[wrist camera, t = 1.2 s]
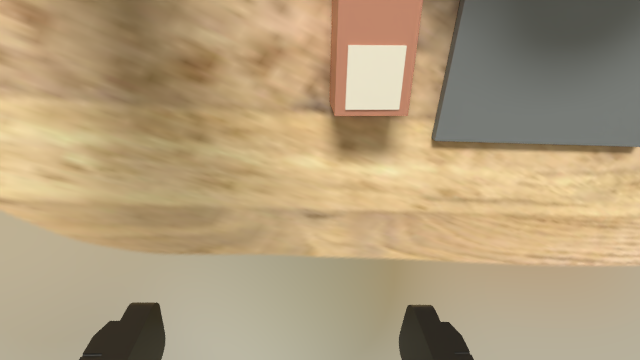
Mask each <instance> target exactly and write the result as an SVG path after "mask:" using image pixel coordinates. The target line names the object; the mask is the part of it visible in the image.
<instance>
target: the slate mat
mask: <svg viewBox="0 0 640 360" xmlns="http://www.w3.org/2000/svg"><path fill="white" fill-rule="evenodd" d="M432 139H433V140H434V141H457V142H492V143H526V144H560V145H595V146H629V147H640V0H460V5H459V9H458V14H457V19H456V24H455V28H454V33H453V38H452V43H451V48H450V52H449V57H448V62H447V67H446V72H445V76H444V81H443V86H442V91H441V96H440V100H439V105H438V110H437V115H436V119H435V124H434V129H433V134H432Z"/></svg>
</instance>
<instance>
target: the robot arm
mask: <svg viewBox="0 0 640 360" xmlns="http://www.w3.org/2000/svg"><path fill="white" fill-rule="evenodd" d="M164 347H165V332H164V326H163V321H162V316H161V310H160V305H159V304H158V303H131V304H130V305H129V306H128V308H127V310H126V311H125V313H124V315H123V317H122V318H121V320H120V321H110V322H108V323H107V324H106V325H105V326H104V327H103V328H102V329H101V330H99V331H98V332H97V333H96V334H95V335H94V336H93V338H92V339H91V341H90V343H89V344H88V346H87V348H86V349H85V351H84V353H83V356H82V357H80V359H79V360H161V358H162V355H163V352H164ZM399 349H400V355H401V358H402V360H474V359H473V357H472V355H470V353H469V349H468V347H467V345H466V343H465V341H464V339H463V337H462V336H461V334H460V333H459V332H458V331H457V330H456V329H455V328H454V327H453V326H452V325H451V324H450V323H449V322H440V320H439V317H438V315H437V313H436V311H435V309H434V308H433V306H431V305H408V307H407V309H406V313H405V316H404V320H403V324H402V327H401V331H400V335H399Z"/></svg>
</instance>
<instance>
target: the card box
mask: <svg viewBox="0 0 640 360" xmlns="http://www.w3.org/2000/svg"><path fill="white" fill-rule="evenodd" d="M422 4H423V0H332V30H331V68H330V104H331V107H332V110H333V113H334V115H335V116H408V110H409V103H410V95H411V87H412V80H413V72H414V64H415V57H416V49H417V42H418V34H419V26H420V19H421V11H422Z"/></svg>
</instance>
